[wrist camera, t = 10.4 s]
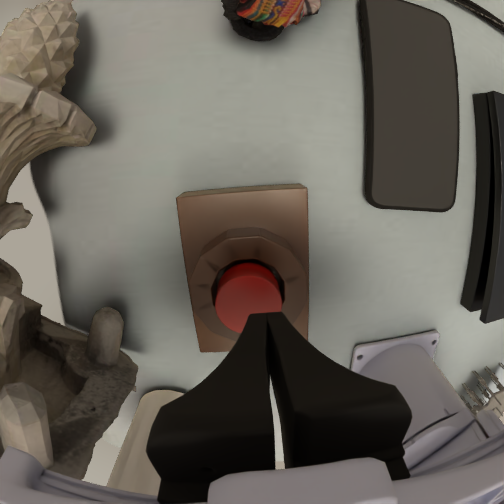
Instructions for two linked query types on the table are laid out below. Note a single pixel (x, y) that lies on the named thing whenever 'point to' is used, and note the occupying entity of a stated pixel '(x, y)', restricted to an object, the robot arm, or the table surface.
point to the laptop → (481, 209)
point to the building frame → (497, 401)
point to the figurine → (267, 16)
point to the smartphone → (410, 107)
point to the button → (246, 294)
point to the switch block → (244, 250)
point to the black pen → (482, 13)
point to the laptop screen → (496, 217)
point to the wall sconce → (10, 283)
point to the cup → (140, 448)
